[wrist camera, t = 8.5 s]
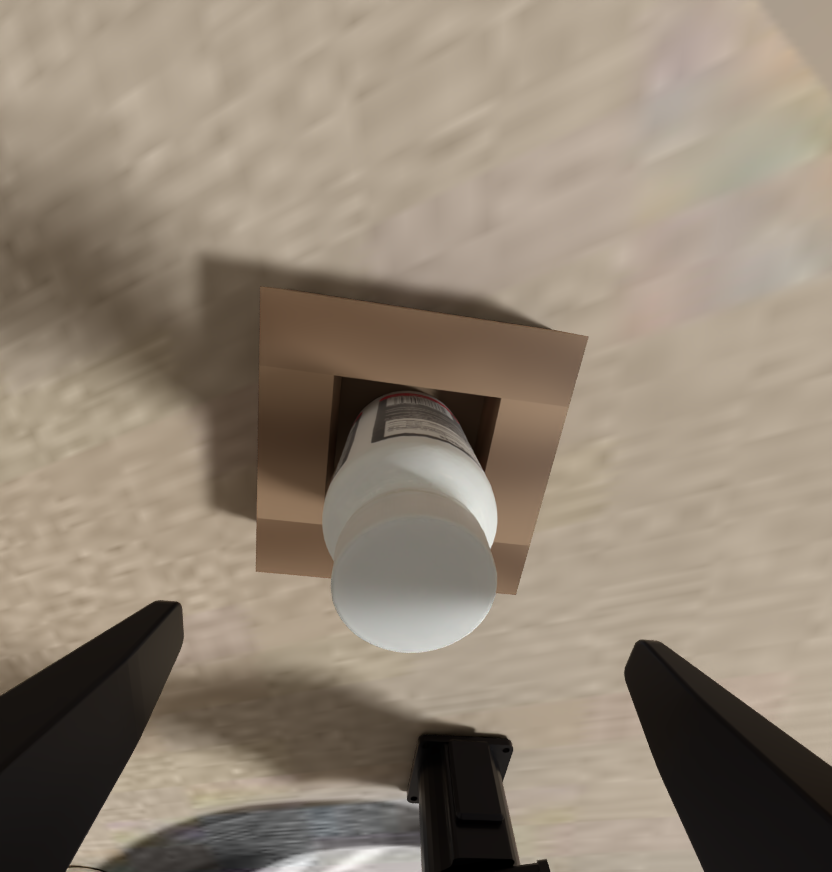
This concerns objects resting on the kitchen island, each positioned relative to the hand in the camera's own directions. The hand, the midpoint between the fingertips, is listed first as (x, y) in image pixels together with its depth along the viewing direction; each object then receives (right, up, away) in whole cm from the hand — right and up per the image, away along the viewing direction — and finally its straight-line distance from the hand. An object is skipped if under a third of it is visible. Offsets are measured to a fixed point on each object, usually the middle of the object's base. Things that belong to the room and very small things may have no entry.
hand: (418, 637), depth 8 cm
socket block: (-1, +4, +12) cm, 12 cm away
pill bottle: (-1, +4, +11) cm, 12 cm away
